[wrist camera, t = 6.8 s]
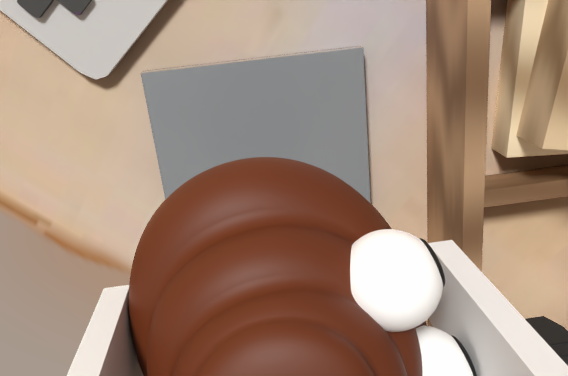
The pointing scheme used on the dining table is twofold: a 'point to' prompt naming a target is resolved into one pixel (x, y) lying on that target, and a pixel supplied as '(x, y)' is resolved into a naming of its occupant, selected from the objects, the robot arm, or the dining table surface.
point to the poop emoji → (284, 281)
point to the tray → (467, 131)
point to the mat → (262, 114)
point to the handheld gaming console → (85, 28)
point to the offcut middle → (548, 84)
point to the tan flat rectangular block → (517, 77)
